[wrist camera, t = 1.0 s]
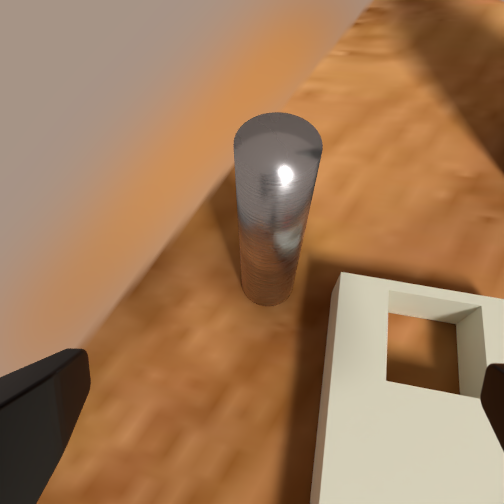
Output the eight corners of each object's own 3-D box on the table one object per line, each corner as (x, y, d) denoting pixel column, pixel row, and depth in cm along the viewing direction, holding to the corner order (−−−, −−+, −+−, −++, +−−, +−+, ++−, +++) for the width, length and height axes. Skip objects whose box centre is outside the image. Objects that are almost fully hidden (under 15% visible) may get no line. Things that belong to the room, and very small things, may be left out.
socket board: (555, 812, 15) (622, 887, 12) (285, 737, 16) (292, 791, 13) (500, 322, 24) (531, 304, 21) (331, 293, 24) (341, 271, 22)
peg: (289, 310, 24) (317, 185, 13) (236, 301, 24) (225, 171, 14) (296, 264, 25) (326, 118, 15) (247, 255, 26) (243, 107, 15)
